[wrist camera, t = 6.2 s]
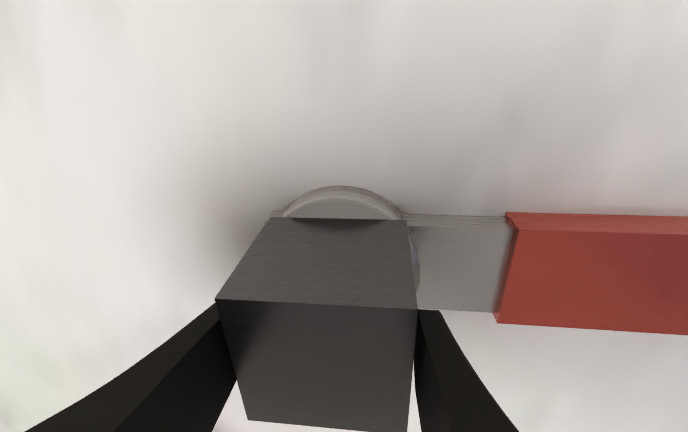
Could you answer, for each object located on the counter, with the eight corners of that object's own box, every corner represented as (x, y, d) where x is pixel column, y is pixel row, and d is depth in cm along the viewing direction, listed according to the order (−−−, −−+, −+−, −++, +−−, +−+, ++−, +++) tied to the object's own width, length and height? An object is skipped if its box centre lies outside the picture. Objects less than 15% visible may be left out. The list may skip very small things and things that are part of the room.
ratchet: (763, 190, 11) (945, 255, 8) (684, 326, 14) (790, 422, 10) (266, 183, 14) (220, 231, 10) (283, 302, 16) (252, 374, 13)
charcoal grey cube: (406, 219, 12) (418, 309, 8) (400, 323, 14) (406, 435, 10) (270, 217, 12) (214, 298, 8) (285, 317, 14) (248, 420, 10)
